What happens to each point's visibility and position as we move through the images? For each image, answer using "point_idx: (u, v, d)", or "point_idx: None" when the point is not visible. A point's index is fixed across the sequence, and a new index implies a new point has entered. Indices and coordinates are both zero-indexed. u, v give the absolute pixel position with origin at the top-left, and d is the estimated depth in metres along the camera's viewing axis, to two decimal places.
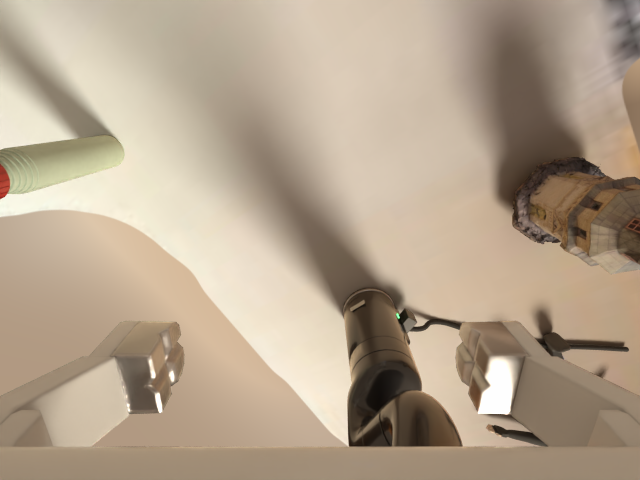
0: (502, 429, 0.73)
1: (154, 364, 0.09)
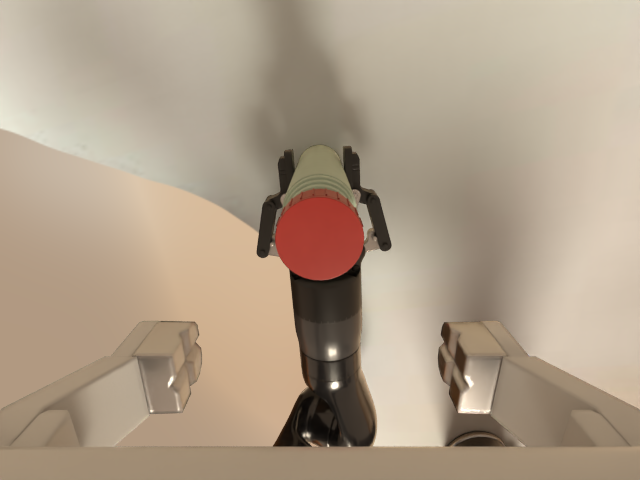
0: None
1: (176, 364, 0.09)
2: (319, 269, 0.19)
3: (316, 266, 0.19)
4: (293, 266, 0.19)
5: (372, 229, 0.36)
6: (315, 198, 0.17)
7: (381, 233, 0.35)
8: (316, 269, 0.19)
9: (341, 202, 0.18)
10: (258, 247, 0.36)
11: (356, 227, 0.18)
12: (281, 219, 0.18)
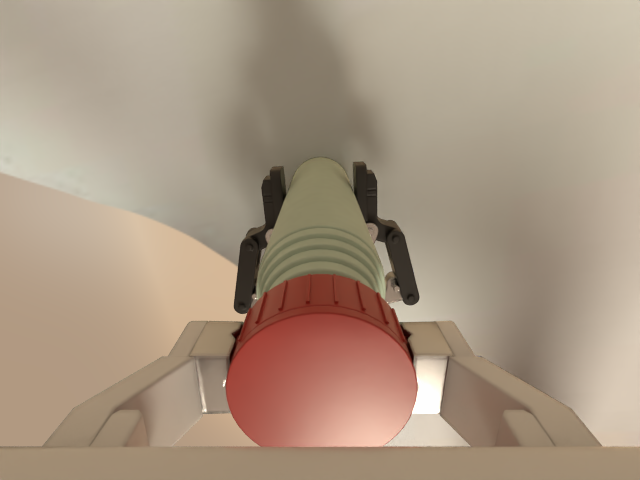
0: None
1: None
2: (321, 446, 0.09)
3: (315, 441, 0.09)
4: (266, 441, 0.09)
5: (392, 274, 0.26)
6: (312, 315, 0.08)
7: (406, 282, 0.25)
8: (315, 446, 0.09)
9: (371, 322, 0.08)
10: (236, 300, 0.26)
11: (402, 371, 0.08)
12: (237, 356, 0.08)
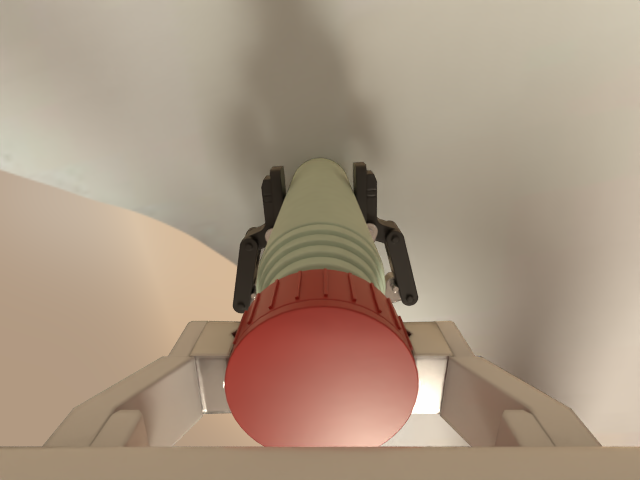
0: None
1: None
2: (386, 409, 0.08)
3: (376, 412, 0.09)
4: None
5: (391, 275, 0.26)
6: (227, 374, 0.08)
7: (405, 282, 0.25)
8: (383, 413, 0.09)
9: (252, 329, 0.08)
10: (235, 299, 0.26)
11: (318, 318, 0.08)
12: (254, 437, 0.09)
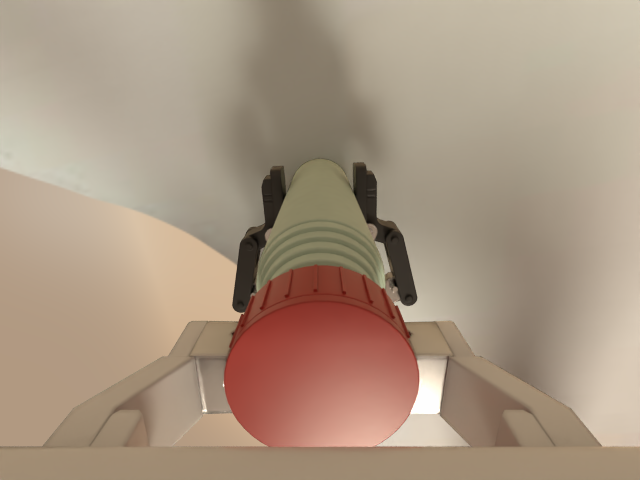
0: None
1: None
2: (366, 340, 0.08)
3: (367, 349, 0.08)
4: (407, 376, 0.08)
5: (391, 275, 0.27)
6: None
7: (404, 282, 0.25)
8: (372, 344, 0.08)
9: (237, 415, 0.09)
10: (234, 299, 0.26)
11: (237, 367, 0.08)
12: None
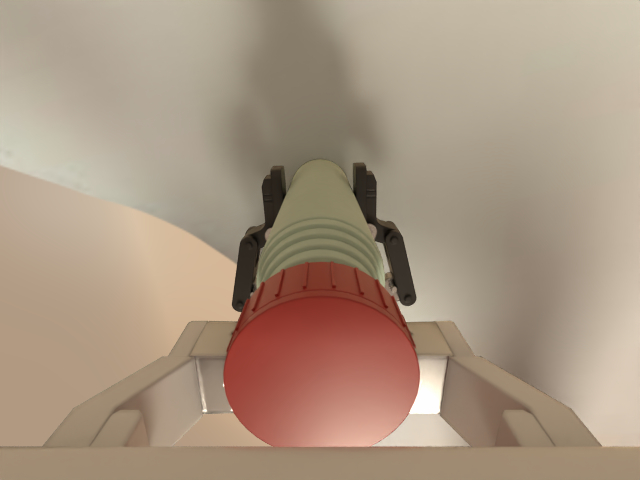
0: None
1: None
2: (280, 334, 0.08)
3: (290, 336, 0.08)
4: (336, 309, 0.08)
5: (390, 275, 0.27)
6: (378, 440, 0.09)
7: (403, 282, 0.26)
8: (285, 330, 0.08)
9: None
10: (234, 298, 0.26)
11: (275, 438, 0.09)
12: (417, 377, 0.08)
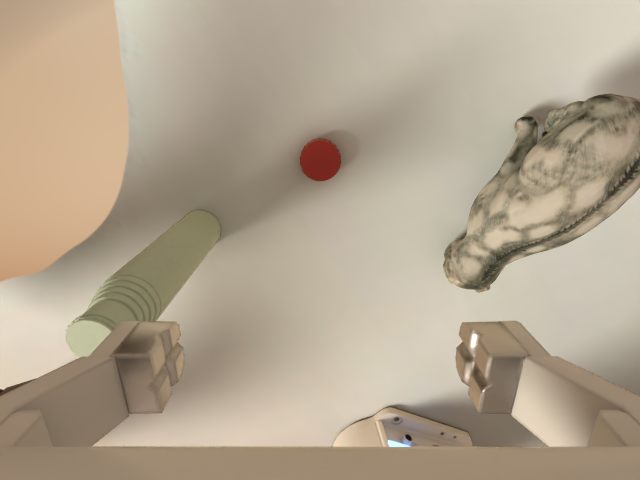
0: None
1: (154, 364, 0.09)
2: (318, 175, 0.41)
3: (317, 173, 0.41)
4: (307, 172, 0.41)
5: None
6: (320, 140, 0.39)
7: None
8: (317, 175, 0.41)
9: (331, 143, 0.40)
10: None
11: (337, 156, 0.40)
12: (304, 149, 0.40)
